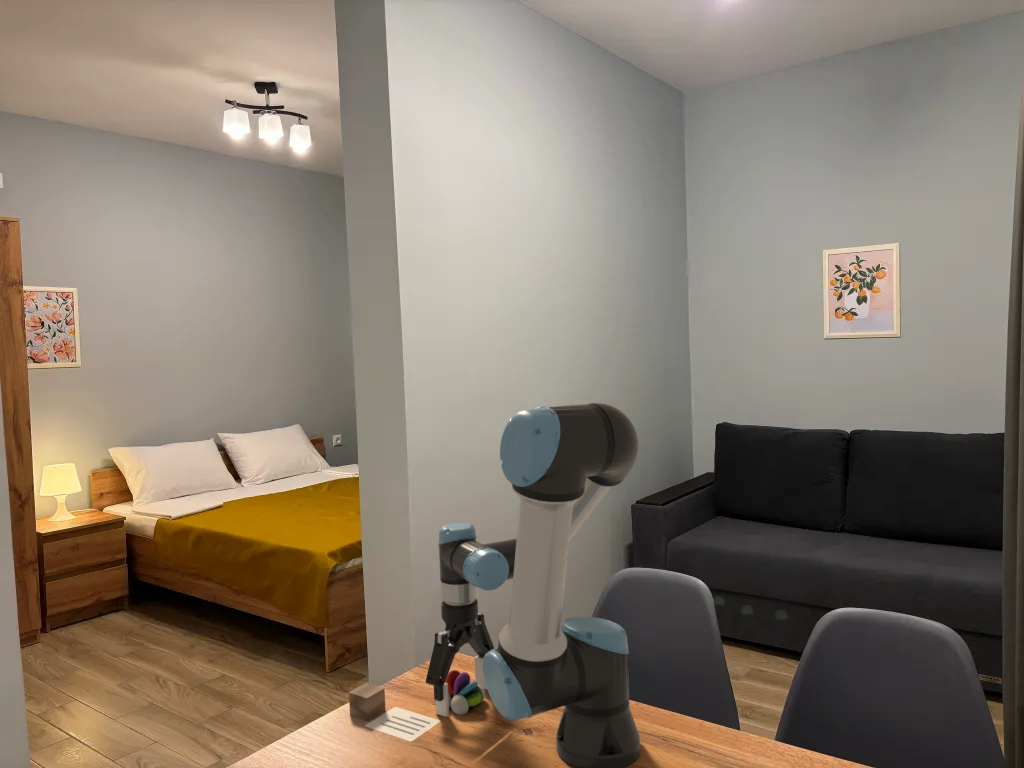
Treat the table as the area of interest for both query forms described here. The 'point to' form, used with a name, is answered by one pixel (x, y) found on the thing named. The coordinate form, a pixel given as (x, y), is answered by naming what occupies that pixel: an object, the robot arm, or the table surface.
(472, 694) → the rainbow petal toy
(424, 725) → the letter
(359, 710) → the walnut block
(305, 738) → the table surface
